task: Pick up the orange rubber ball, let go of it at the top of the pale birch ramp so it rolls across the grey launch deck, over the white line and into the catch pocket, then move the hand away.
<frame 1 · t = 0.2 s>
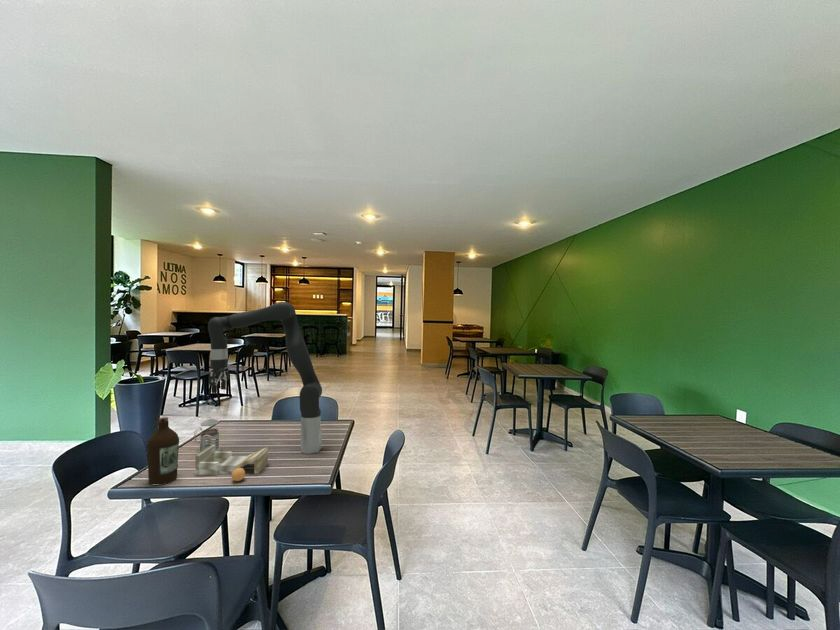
hand: (219, 391, 177), 29 cm above the table, fingers open, 8 cm apart
olive oil: (163, 480, 146), on the table
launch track: (233, 468, 158), on the table
french press: (207, 451, 176), on the table
ball: (238, 474, 147), point 2 cm above the table
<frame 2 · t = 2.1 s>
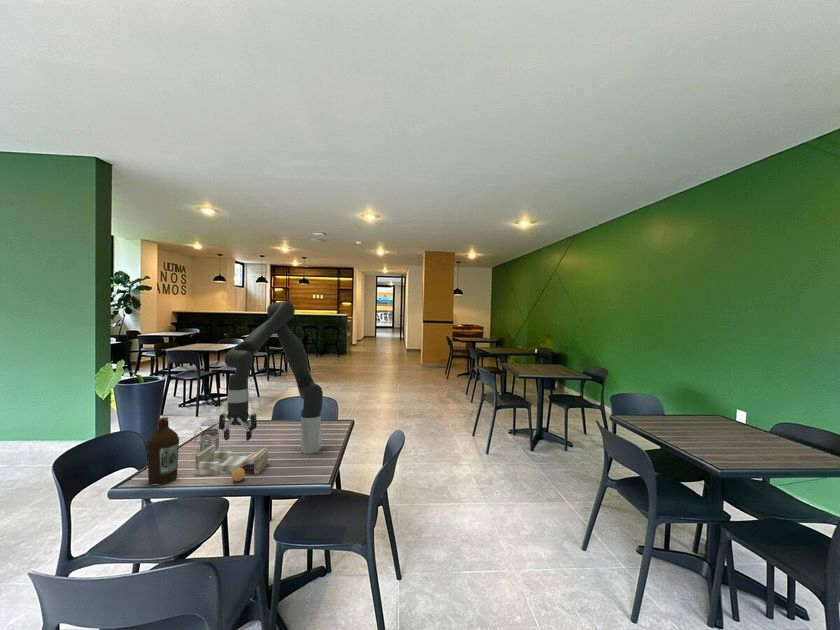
hand: (237, 439, 147), 16 cm above the table, fingers open, 8 cm apart
nothing on the table moved.
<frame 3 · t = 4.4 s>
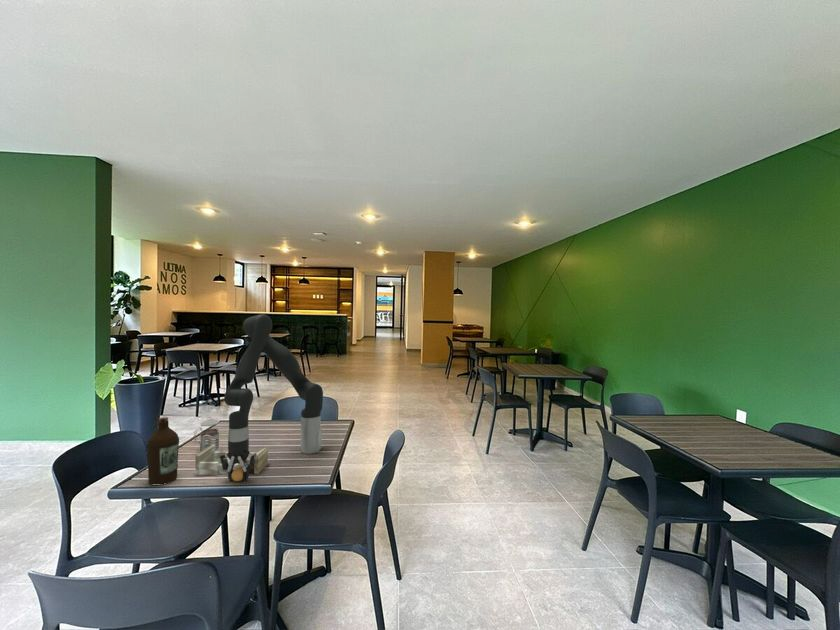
hand: (238, 479, 147), 0 cm above the table, fingers closed on ball, 5 cm apart
ball: (238, 474, 147), point 2 cm above the table, touching gripper
everything else where it was.
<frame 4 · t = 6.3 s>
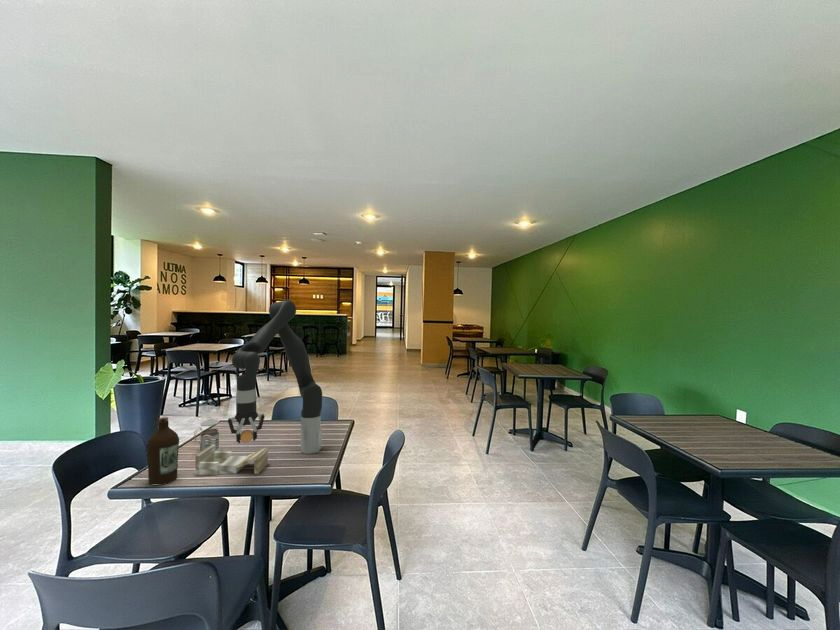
hand: (246, 441, 149), 15 cm above the table, fingers closed on ball, 5 cm apart
ball: (246, 436, 149), point 17 cm above the table, touching gripper
everything else where it was.
when the fingers open (8 cm above the table, at t = 8.3 s): ball drops 7 cm and tips over, resting on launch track.
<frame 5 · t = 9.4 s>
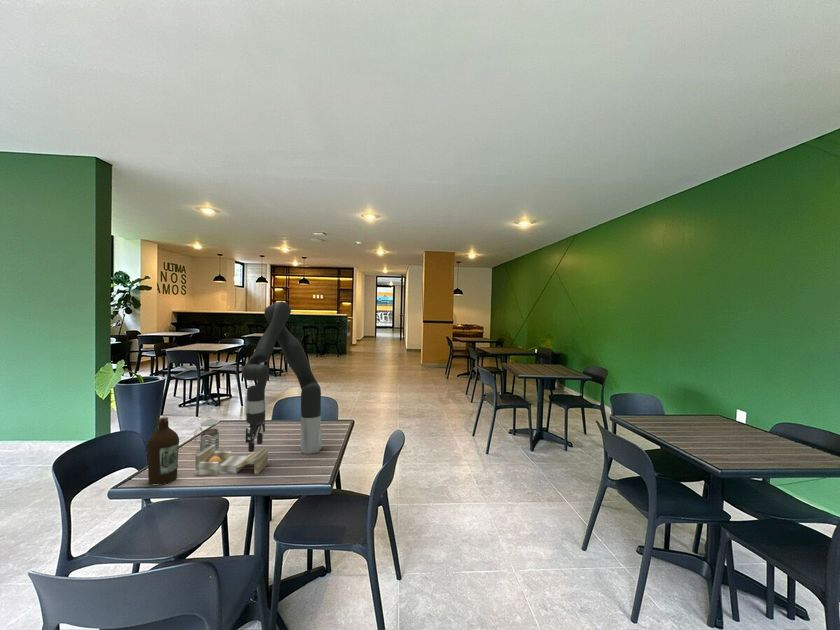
hand: (255, 447, 157), 9 cm above the table, fingers open, 8 cm apart
ball: (214, 462, 157), point 3 cm above the table, tilted 160°, touching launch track
everything else where it was.
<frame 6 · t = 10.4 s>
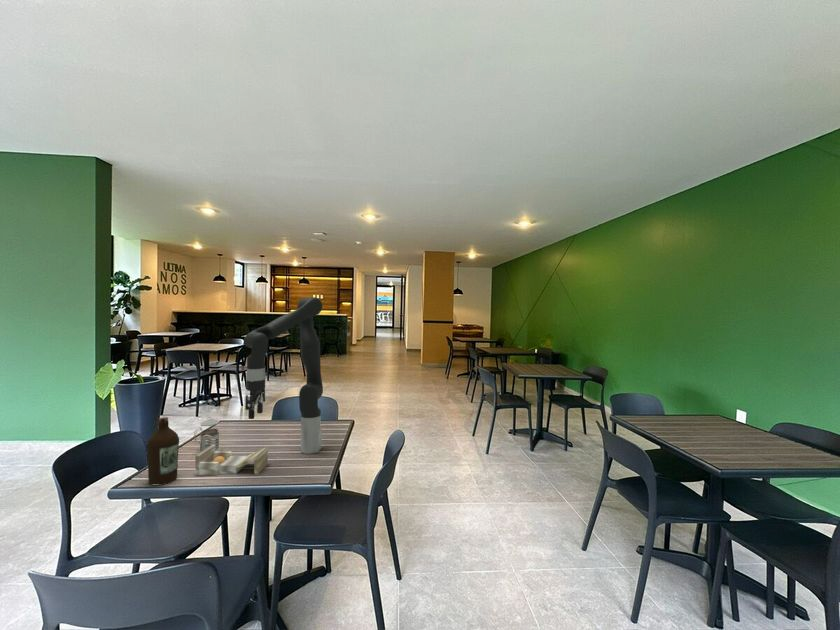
hand: (255, 415, 157), 23 cm above the table, fingers open, 8 cm apart
ball: (218, 462, 157), point 3 cm above the table, tilted 117°, touching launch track
everything else where it was.
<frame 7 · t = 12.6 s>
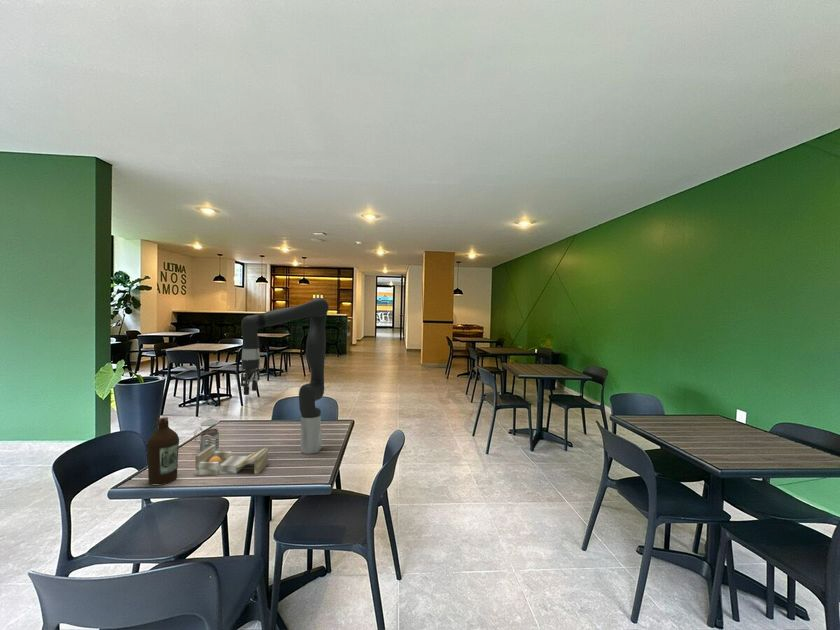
hand: (250, 392, 170), 30 cm above the table, fingers open, 8 cm apart
ball: (214, 462, 157), point 3 cm above the table, tilted 158°, touching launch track
everything else where it was.
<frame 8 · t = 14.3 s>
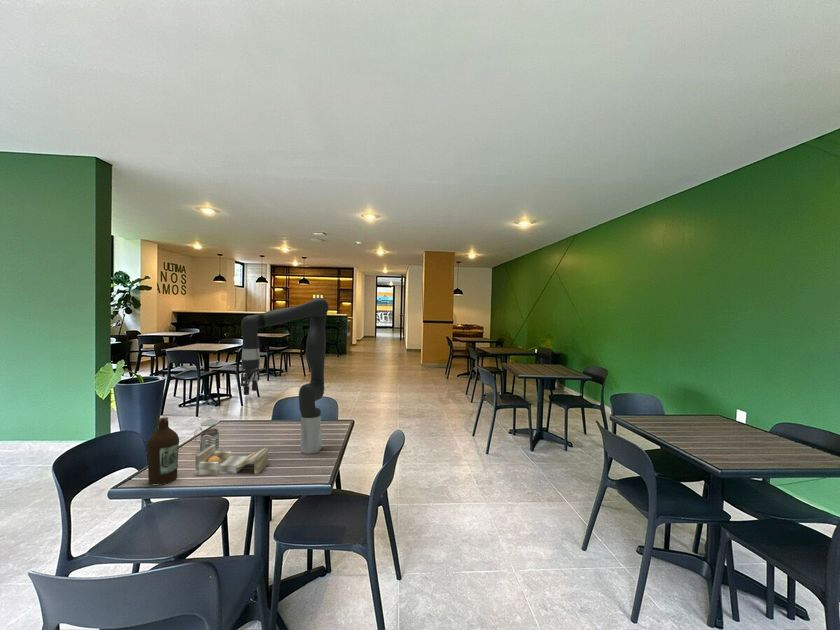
hand: (250, 392, 170), 30 cm above the table, fingers open, 8 cm apart
ball: (213, 462, 157), point 3 cm above the table, tilted 168°, touching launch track
everything else where it was.
at the end: ball inside the target area (0.8 cm from its centre), point 2.7 cm above the table; the gripper is holding nothing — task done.
